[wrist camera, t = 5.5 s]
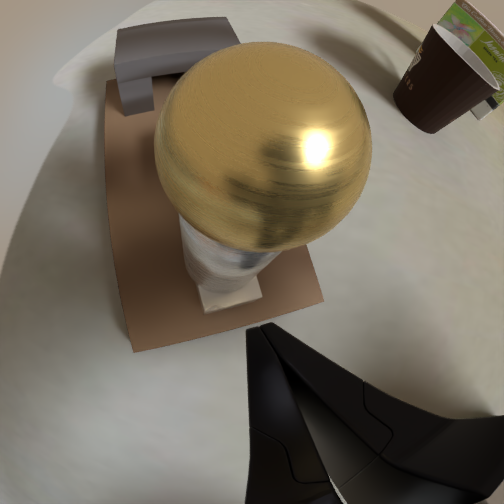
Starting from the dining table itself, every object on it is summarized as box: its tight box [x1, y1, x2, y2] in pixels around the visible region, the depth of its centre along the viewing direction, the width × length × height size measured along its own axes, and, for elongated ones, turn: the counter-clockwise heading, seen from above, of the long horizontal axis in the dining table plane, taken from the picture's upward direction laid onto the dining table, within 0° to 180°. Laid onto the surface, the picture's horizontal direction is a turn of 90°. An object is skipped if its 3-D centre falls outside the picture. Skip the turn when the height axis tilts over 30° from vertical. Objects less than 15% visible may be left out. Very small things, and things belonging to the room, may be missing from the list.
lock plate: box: [104, 17, 324, 353], centre depth 14 cm, size 18×10×6 cm, turn 16°
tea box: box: [416, 0, 504, 120], centre depth 24 cm, size 15×10×15 cm
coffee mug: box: [394, 24, 500, 134], centre depth 20 cm, size 12×9×10 cm
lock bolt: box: [154, 42, 372, 315], centre depth 9 cm, size 9×4×11 cm, turn 16°
